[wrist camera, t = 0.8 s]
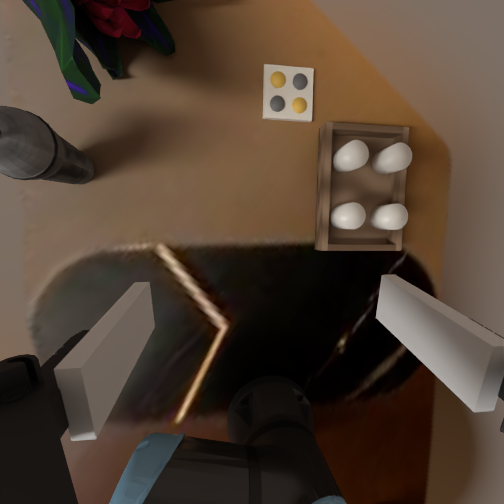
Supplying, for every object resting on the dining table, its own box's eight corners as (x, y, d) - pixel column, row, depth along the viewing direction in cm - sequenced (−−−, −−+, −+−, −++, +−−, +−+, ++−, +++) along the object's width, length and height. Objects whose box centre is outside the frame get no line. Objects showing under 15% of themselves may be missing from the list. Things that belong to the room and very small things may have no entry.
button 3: (351, 229, 43) (365, 229, 39) (328, 228, 43) (339, 229, 39) (352, 204, 43) (366, 202, 39) (329, 204, 42) (341, 202, 38)
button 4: (354, 174, 42) (368, 168, 38) (331, 173, 42) (342, 167, 38) (355, 148, 42) (369, 140, 38) (332, 147, 41) (343, 139, 38)
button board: (389, 249, 47) (401, 250, 44) (314, 249, 45) (321, 250, 42) (396, 133, 45) (409, 127, 42) (319, 129, 43) (326, 121, 40)
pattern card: (310, 122, 43) (312, 120, 42) (262, 119, 42) (263, 116, 41) (312, 70, 42) (314, 67, 41) (263, 66, 41) (264, 63, 40)
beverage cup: (80, 134, 39) (-65, 36, 19) (114, 173, 40) (11, 121, 20) (41, 164, 38) (-149, 96, 19) (76, 203, 39) (-67, 179, 20)
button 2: (393, 175, 43) (411, 170, 39) (371, 174, 43) (386, 169, 39) (395, 151, 43) (413, 143, 39) (372, 149, 42) (388, 141, 38)
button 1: (390, 229, 44) (407, 229, 40) (368, 229, 44) (383, 229, 40) (391, 205, 44) (408, 203, 40) (369, 205, 43) (384, 203, 39)
